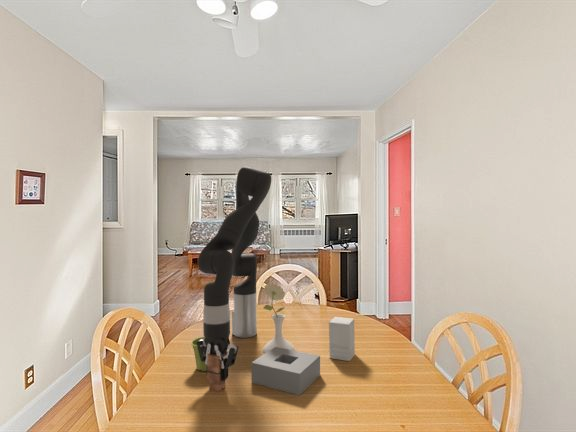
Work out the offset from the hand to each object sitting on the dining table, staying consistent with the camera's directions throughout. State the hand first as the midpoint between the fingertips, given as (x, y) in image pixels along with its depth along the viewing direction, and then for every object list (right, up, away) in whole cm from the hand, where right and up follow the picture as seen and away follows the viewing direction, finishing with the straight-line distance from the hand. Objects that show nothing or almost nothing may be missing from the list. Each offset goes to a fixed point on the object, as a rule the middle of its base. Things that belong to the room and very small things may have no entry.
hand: (217, 377), depth 105 cm
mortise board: (+20, -3, +5) cm, 21 cm away
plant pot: (-6, -3, +14) cm, 15 cm away
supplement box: (+39, -2, +22) cm, 45 cm away
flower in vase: (+16, -2, +24) cm, 29 cm away
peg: (0, -3, 0) cm, 3 cm away
